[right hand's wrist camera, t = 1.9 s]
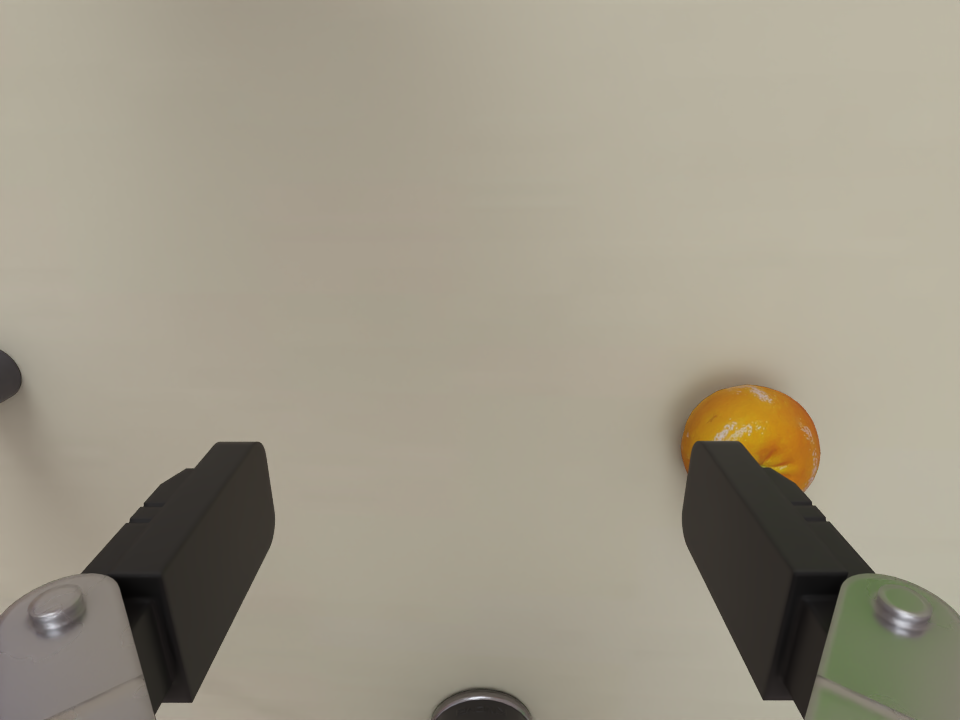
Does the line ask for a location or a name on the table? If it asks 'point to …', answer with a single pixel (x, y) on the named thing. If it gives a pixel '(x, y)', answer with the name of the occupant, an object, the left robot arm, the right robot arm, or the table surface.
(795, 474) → the fruit
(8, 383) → the dark cylinder
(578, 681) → the table surface
